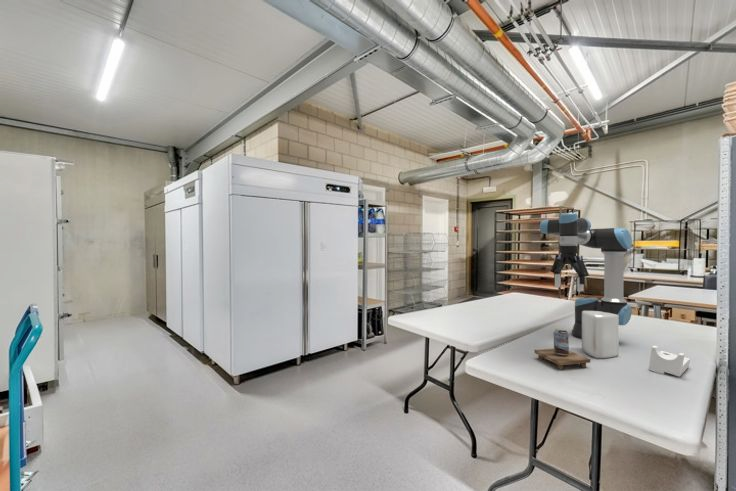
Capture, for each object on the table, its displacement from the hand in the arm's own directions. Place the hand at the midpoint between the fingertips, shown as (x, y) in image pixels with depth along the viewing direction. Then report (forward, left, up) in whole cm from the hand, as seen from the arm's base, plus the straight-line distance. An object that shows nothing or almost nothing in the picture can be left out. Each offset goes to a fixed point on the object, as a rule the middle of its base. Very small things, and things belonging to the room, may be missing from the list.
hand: (568, 289), depth 153 cm
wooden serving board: (+2, -6, -35) cm, 35 cm away
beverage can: (+2, -6, -31) cm, 31 cm away
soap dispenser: (-3, +20, -35) cm, 40 cm away
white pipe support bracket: (+18, +35, -35) cm, 53 cm away
